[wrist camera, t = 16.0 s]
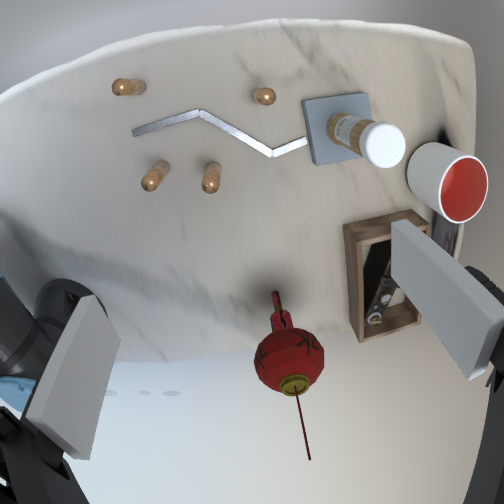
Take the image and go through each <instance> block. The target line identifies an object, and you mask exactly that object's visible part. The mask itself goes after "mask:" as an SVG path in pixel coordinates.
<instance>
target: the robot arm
mask: <svg viewBox="0 0 504 504" xmlns="http://www.w3.org/2000/svg"><path fill="white" fill-rule="evenodd" d="M391 277H392V278H393V279H394V281H395V282H396V283H397V284H398V285H399V287H400V288H401V289H402V290H403V292H404V293H405V294H406V296H407V297H408V298H409V299H410V301H411V302H412V303H413V305H414V306H415V307H416V308H417V310H418V311H419V312H420V314H421V315H422V316H423V317H424V319H425V320H426V322H427V323H428V324H429V325H430V327H431V328H432V330H433V331H434V332H435V333H436V335H437V336H438V338H439V339H440V340H441V342H442V343H443V345H444V346H445V348H446V349H447V351H448V352H449V353H450V355H451V356H452V358H453V359H454V361H455V362H456V363H457V365H458V366H459V368H460V369H461V371H462V372H463V374H464V375H465V377H466V378H467V380H468V381H469V380H471V379H473V378H474V377H476V376H478V375H480V374H482V373H484V372H485V370H486V367H487V365H488V363H489V361H491V363H492V364H493V365H494V369H493V371H492V373H491V375H490V377H489V379H488V381H487V384H486V387H488V386H489V384H490V382H491V387H490V395H489V402H488V409H487V414H486V420H485V425H484V430H483V435H482V440H481V444H480V449H479V453H478V457H477V460H476V464H475V468H474V471H473V475H472V478H471V481H470V485H469V488H468V491H467V494H466V497H465V500H464V502H463V504H504V293H503V291H501V290H500V289H499V288H498V287H496V285H495V284H494V283H493V282H492V281H490V280H489V278H488V277H487V276H485V275H484V274H483V273H482V272H481V271H479V270H477V269H475V268H473V267H471V266H467V267H462V266H461V265H460V264H459V263H458V262H457V261H456V260H455V259H454V258H452V257H451V256H450V255H449V254H448V253H447V252H446V251H444V250H443V249H442V248H441V247H440V246H439V245H437V244H436V243H435V242H434V241H433V240H432V239H430V238H429V237H428V236H427V235H426V234H424V233H423V232H422V231H421V230H419V229H418V228H417V227H416V226H415V225H413V224H412V223H411V222H410V221H408V220H407V219H403V220H399V221H395V222H391ZM120 340H121V339H120V338H119V336H118V334H117V333H116V331H115V329H114V328H113V326H112V324H111V323H110V321H109V319H108V317H107V313H106V311H105V309H104V307H103V305H102V304H101V302H100V301H99V299H98V298H97V297H96V296H95V294H93V293H92V292H90V291H89V290H88V289H87V288H85V287H83V286H82V285H80V284H78V283H75V282H73V281H69V280H63V279H59V280H53V281H51V282H49V283H47V284H46V285H45V286H44V288H43V289H42V290H41V292H40V293H39V295H38V297H37V300H36V306H35V310H34V315H33V316H32V315H31V313H30V312H29V311H28V310H27V308H26V307H25V306H24V304H23V303H22V302H21V300H20V299H19V298H18V296H17V295H16V294H15V292H14V291H13V289H12V288H11V287H10V285H9V284H8V282H7V281H6V280H5V276H4V275H3V274H1V273H0V397H1V398H2V399H3V400H4V401H5V402H6V403H8V404H9V405H10V406H12V407H13V408H15V409H16V410H18V411H20V412H22V416H21V419H20V420H19V419H17V418H16V417H15V416H14V415H13V414H12V413H11V412H10V411H9V410H8V409H7V408H5V407H4V406H2V407H1V406H0V477H1V478H2V479H4V480H5V481H6V486H4V485H2V484H1V483H0V504H89V502H88V500H87V499H86V497H85V495H84V493H83V491H82V490H81V488H80V486H79V484H78V482H77V480H76V478H75V476H74V474H73V473H72V471H71V468H70V466H69V464H68V463H67V461H66V460H65V459H64V458H63V453H64V452H66V453H67V454H68V455H69V456H71V457H72V458H73V459H81V460H90V454H91V450H92V445H93V441H94V436H95V432H96V427H97V423H98V419H99V415H100V411H101V407H102V403H103V399H104V395H105V392H106V388H107V384H108V381H109V377H110V374H111V370H112V366H113V363H114V360H115V356H116V353H117V350H118V347H119V343H120Z"/></svg>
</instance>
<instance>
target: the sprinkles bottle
mask: <svg viewBox="0 0 504 504" xmlns="http://www.w3.org/2000/svg"><path fill="white" fill-rule="evenodd" d="M327 133H328V136H329V138H330V140H331V141H333V142H334V143H335V144H338V145H340V146H342V147H344V148H346V149H347V150H349V151H351V152H354V153H356V154H358V155H360V156H362V157H364V158H365V159H366V160H367V161H368V162H369V163H371V164H373V165H375V166H377V167H380V168H390V167H393V166H395V165H396V164H398V163H399V162H400V160H401V159H402V157H403V155H404V153H405V139H404V136H403V134H402V132H401V131H400V130H399V129H398V128H397V127H396V126H394V125H392V124H389V123H385V122H375V121H373V120H369V119H365V118H361V117H357V116H352V115H349V114H346V113H339V114H336V115H334V116H333V117H332V118H331V119H330V121H329V122H328V125H327Z"/></svg>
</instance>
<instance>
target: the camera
mask: <svg viewBox="0 0 504 504" xmlns="http://www.w3.org/2000/svg"><path fill="white" fill-rule="evenodd" d="M363 286H364V320H365V322H366V324H368V325H372V326H373V327H376V326H378V325H380V324H381V322H382V318H383V316H384V314H385V311H386V309H387V307H388V305H389V303H390V301H391V299H392V296H393V294H394V292H395V289H396V288H400V287H399V285H398V284H397V283H396V282H395V281H394V279H393V278H392V277H391V239H388V240H384V241H381V242H377V243H373V244H372V245H371V248H370V251H369V254H368V257H367V259H366V262H365V265H364V268H363Z"/></svg>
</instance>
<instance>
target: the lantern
mask: <svg viewBox="0 0 504 504" xmlns="http://www.w3.org/2000/svg"><path fill="white" fill-rule="evenodd" d="M272 298H273V303H274V308H275V312H274V313H273V314H272V315H271V318H270V321H271V326H272V333H270V334H269V335H268V336H267V337H266V338H265V339H264V340H263V341H262V342H261V343H260V344H259V345H258V348H257V351H256V353H255V358H254V365H255V369H256V372H257V375H258V377H259V379H260V380H261V381H262V382H263V383H264V384H265V385H266V386H268V387H269V388H271V389H272V390H275V391H278V392H281V393H283V394H285V395H287V396H296V398H297V403H298V408H299V413H300V418H301V423H302V428H303V433H304V438H305V443H306V448H307V453H308V459H309V460H311V457H310V452H309V447H308V442H307V437H306V432H305V427H304V422H303V418H302V412H301V408H300V403H299V398H298V395H301V394H303V393H305V392H306V391H307V390H308V388H309V386H311V385H312V384H313V383H315V382H316V380H317V378H318V377H319V375H320V374H321V372H322V370H323V368H324V349H323V347H322V346H321V345H320V343H319V342H318V340H317V339H316V337H315V336H314V335H313V334H312V333H310V332H308V331H306V330H303V329H299V328H294V327H293V323H292V319H291V316H290V313H289V312H287V311H286V310H282V305H281V300H280V296H279V292H277V291H274V292H273V293H272Z"/></svg>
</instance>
